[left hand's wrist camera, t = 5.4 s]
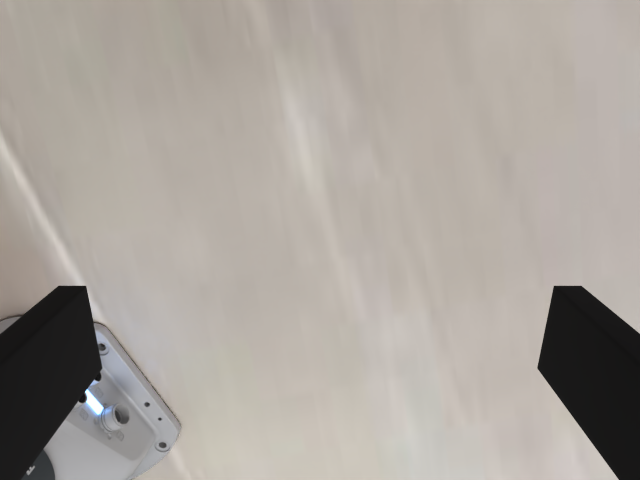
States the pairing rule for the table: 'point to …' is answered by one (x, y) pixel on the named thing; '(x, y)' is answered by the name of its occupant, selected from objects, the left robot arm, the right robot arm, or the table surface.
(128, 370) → the right robot arm
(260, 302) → the table surface
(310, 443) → the table surface
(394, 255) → the table surface
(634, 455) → the left robot arm
